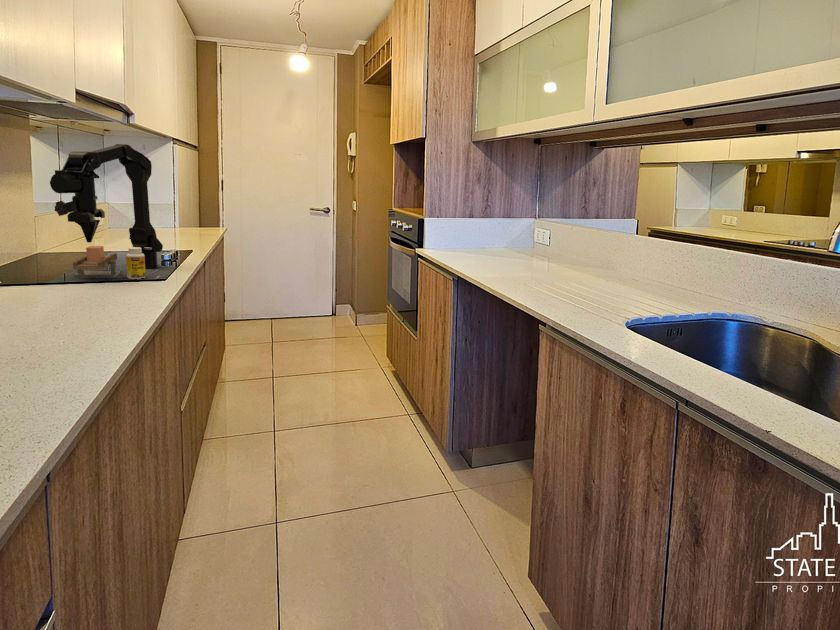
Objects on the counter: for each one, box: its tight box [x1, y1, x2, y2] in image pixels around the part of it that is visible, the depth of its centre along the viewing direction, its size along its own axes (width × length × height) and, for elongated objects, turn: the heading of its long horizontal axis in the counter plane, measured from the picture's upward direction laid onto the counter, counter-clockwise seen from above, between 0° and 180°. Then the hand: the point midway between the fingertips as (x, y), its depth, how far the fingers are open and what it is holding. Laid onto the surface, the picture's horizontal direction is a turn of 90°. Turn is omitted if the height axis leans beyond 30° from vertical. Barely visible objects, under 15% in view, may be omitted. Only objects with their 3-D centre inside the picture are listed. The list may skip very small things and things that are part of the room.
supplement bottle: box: [125, 246, 147, 280], centre depth 195 cm, size 6×6×10 cm
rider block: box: [85, 245, 105, 262], centre depth 196 cm, size 5×4×4 cm
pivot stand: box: [73, 260, 121, 279], centre depth 197 cm, size 8×12×5 cm, turn 105°
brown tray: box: [72, 252, 118, 271], centre depth 196 cm, size 22×8×2 cm, turn 15°
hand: (89, 242), depth 189 cm, fingers closed
